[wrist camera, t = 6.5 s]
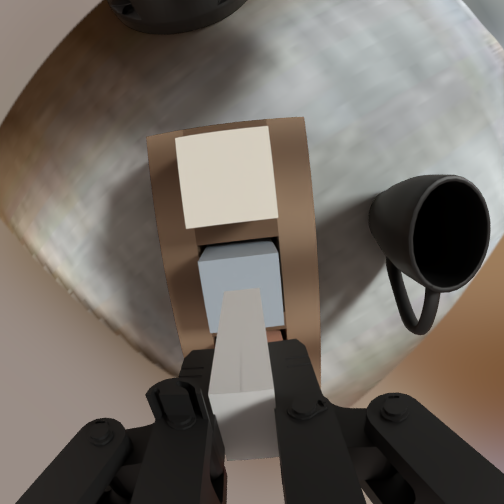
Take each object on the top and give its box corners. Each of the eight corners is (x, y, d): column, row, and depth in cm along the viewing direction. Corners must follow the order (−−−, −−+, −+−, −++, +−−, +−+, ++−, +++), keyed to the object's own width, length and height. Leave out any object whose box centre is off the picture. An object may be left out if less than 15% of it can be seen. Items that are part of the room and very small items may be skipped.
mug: (337, 292, 27) (377, 340, 18) (363, 165, 25) (420, 159, 16) (407, 300, 28) (459, 342, 19) (433, 186, 25) (498, 192, 16)
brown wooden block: (171, 148, 24) (146, 136, 17) (287, 134, 24) (303, 116, 17) (204, 357, 28) (196, 402, 22) (304, 346, 29) (320, 389, 22)
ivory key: (196, 152, 20) (175, 138, 13) (259, 144, 20) (268, 125, 13) (204, 214, 21) (186, 228, 14) (266, 206, 21) (278, 217, 14)
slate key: (210, 238, 23) (197, 261, 16) (267, 232, 23) (278, 252, 16) (218, 292, 24) (210, 333, 17) (272, 286, 24) (284, 325, 17)
